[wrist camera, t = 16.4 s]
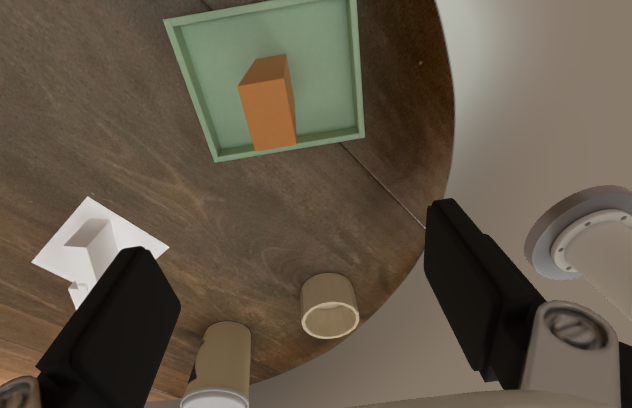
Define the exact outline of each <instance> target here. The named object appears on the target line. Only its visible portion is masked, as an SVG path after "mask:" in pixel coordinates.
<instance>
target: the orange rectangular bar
mask: <svg viewBox="0 0 632 408" xmlns="http://www.w3.org/2000/svg"><path fill="white" fill-rule="evenodd" d="M237 88H238V91H239V95H240V98H241V102H242V106H243V109H244V113H245V117H246V120H247V124H248V127H249V131H250V135H251V138H252V142H253V145H254V149H255V152H257V151H262V150H268V149H274V148H280V147H286V146H292V145H297V137H296V117H295V100H294V94H293V89H292V83H291V78H290V72H289V67H288V61H287V56H286V54H282V55H277V56H271V57H265V58H259V59H255V61H254V62H253V64H252V65H251V67H250V68H249V70H248V71H247V73H246V74H245V75H244V77H243V78H242V80H241V81H240V83H239V84H238V86H237Z"/></svg>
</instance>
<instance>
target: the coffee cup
mask: <svg viewBox="0 0 632 408" xmlns="http://www.w3.org/2000/svg"><path fill="white" fill-rule="evenodd" d="M250 353H251V333H250V331H249V329H248V328H247V327H245V326H244V325H242V324H240V323H237V322H232V321H223V322H218V323H215V324H213V325H211V326H210V327H209V328H208V329H207V330H206V332H205V335H204V337H203V340H202V343H201V346H200V349H199V352H198V355H197V358H196V361H195V363H194V366H193V369H192V372H191V375H190V378H189V381H188V384H187V387H186V391H185V394H184V396H183V398H182V400H181V403H180V408H249V400H248V395H249V376H250Z"/></svg>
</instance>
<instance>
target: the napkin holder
mask: <svg viewBox="0 0 632 408" xmlns="http://www.w3.org/2000/svg"><path fill="white" fill-rule="evenodd" d="M136 246H142V247H144V248H145V249H148V250H150V252H151V253H152V255H153V256H154V258H155V260H156V259H157V258H158V257H159V256H160V255H161V254H163V253H164V252H165V251H166V250H167V249H168V248H169V246H167V245H165V244H164V243H162V242H161V241H159V240H157V239H156V238H154V237H152V236H151V235H149V234H148V233H146V232H144V231H143V230H141V229H139V228H138V227H136V226H135V225H133V224H131V223H130V222H128V221H127V220H125V219H123V218H122V217H120V216H118V215H117V214H115V213H114V212H112V211H110V210H109V209H107V208H105V207H104V206H102V205H101V204H99V203H97V202H96V201H94V200H93V199H91V198H89V197H87V198H86V199H85V200H84V201H83V202H82V204H81V205H80V206H79V207H78V208H77V209H76V211H75V212H74V213H73V214H72V215H71V216H70V218H69V219H68V220H67V221H66V222H65V223H64V225H63V226H62V227H61V228H60V229H59V230H58V232H57V233H56V234H55V235H54V236H53V237H52V239H51V240H50V241H49V242H48V243H47V244H46V246H45V247H44V248H43V249H42V250H41V251H40V253H39V254H38V255H37V256H36V257H35V258H34V260H33V261H32V262H31V263H33V264H36V265H38V266H40V267H42V268H44V269H46V270H48V271H50V272H52V273H54V274H56V275H58V276H60V277H63V278H65V279H67V280H69V281H71V282H73V283H72V284H71V286H70V287H69V288H68V290H69V292H70V295H71V298H72V300H73V303H74V305H75V308H76V310H77V309H78V308H79V306H80V305H81V303H82V302H83V301H84V299H85V298H86V297H87V295H88V294H89V293H90V291H91V290H92V288H93V287H94V286H95V284H96V283H97V282H98V280H99V279H100V277H101V276H102V275H103V273H104V272H105V271H106V269H107V268H108V267H109V265H110V264H111V262H112V261H113V260H114V258H115V257H116V256H117V254H118V253H119V252H120V251H121V250H122V249H124V248H130V247H136Z"/></svg>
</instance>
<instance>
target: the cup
mask: <svg viewBox="0 0 632 408" xmlns="http://www.w3.org/2000/svg"><path fill="white" fill-rule="evenodd" d="M300 296H301V322H302V326H303V329H304V330H305V331H306V332H307V333H308V334H309V335H312V336H314V337H317V338H324V339H331V338H337V337H341V336H343V335H346V334H348V333H350V332H351V331H352V330H353V329H354V328H356V326H357V324H358V322H359V313H358V308H357V304H356V299H355V295H354V290H353V286H352V284H351V282H350V281H349V280H348V279H347V278H346V277H344V276H342V275H340V274H336V273H322V274H318V275H315V276H313V277H311V278H310V279H308V280H307V281H306V282H305V283H304V285H303V286H302V289H301V295H300Z"/></svg>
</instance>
